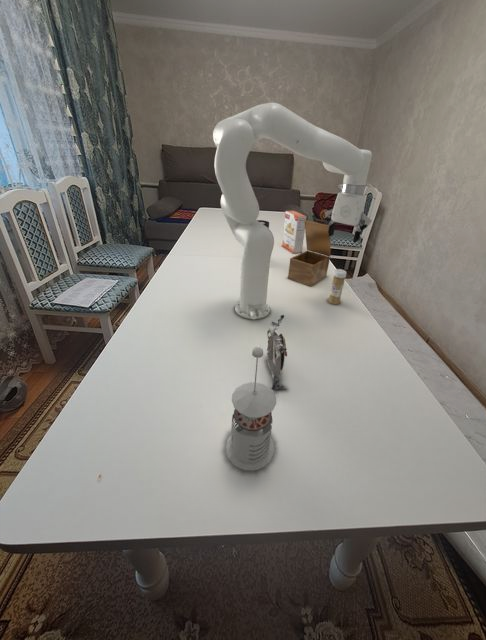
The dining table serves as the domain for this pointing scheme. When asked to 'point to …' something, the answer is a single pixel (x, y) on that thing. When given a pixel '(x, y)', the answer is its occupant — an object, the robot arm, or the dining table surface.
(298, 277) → the wooden box
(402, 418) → the dining table surface
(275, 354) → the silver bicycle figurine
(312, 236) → the lid
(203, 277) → the dining table surface
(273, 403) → the french press
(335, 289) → the sprinkles bottle
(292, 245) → the cracker box
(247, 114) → the robot arm
